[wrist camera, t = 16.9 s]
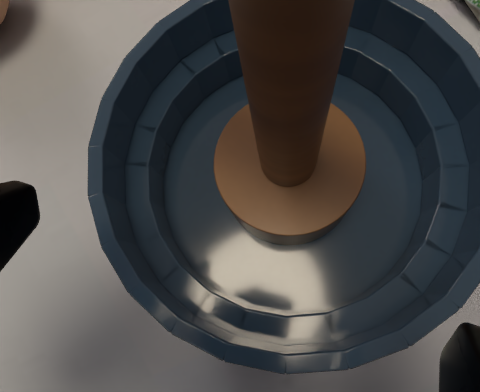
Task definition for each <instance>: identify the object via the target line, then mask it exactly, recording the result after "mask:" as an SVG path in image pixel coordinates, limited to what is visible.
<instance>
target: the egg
mask: <svg viewBox="0 0 480 392" xmlns="http://www.w3.org/2000/svg"><path fill="white" fill-rule="evenodd" d="M8 5H9V0H0V24H1V23H2V21H3V20H4V18H5V15H6V12H7V9H8Z"/></svg>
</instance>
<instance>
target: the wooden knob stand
mask: <svg viewBox="0 0 480 392" xmlns="http://www.w3.org/2000/svg"><path fill="white" fill-rule="evenodd" d="M228 1H229V7H230V12H231V17H232V22H233V27H234V32H235V37H236V42H237V47H238V52H239V57H240V62H241V68H242V73H243V78H244V83H245V88H246V93H247V98H248V103H249V104H247V105H246V106H244V107H243V108H242V109H241V110H239V111H238V112H237V113H236V114H235V115H234V116H233V117H232V118H231V119H230V121H229V122H228V123H227V124H226V126H225V128H224V129H223V131H222V133H221V135H220V137H219V139H218V142H217V145H216V149H215V154H214V175H215V181H216V184H217V188H218V190H219V192H220V195H221V197H222V198H223V200H224V202H225V203H226V205H227V206H228V208H229V209H230V211H231V212H232V214H233V215H234V217H235V218H236V219H237V221H238V222H239V223H240V224H241V225H242V226H243V227H244V228H245V229H246V230H247V231H249V232H250V233H251V234H253V235H254V236H256V237H258V238H260V239H262V240H265V241H267V242H270V243H275V244H280V245H298V244H304V243H307V242H311V241H313V240H316V239H318V238H320V237H322V236H323V235H325V234H327V233H328V232H329V231H331V230H332V229H333V228H334V227H335V226H336V225H337V224H338V223H339V222H340V221H341V219H342V218H343V217H344V215H345V214H346V213H347V211H348V210H349V209H350V207H351V206H352V205H353V203H354V202H355V200H356V199H357V197H358V195H359V193H360V191H361V188H362V185H363V182H364V178H365V173H366V154H365V149H364V144H363V141H362V139H361V136H360V134H359V132H358V130H357V128H356V127H355V125H354V124H353V122H352V121H351V120H350V119H349V117H348V116H347V115H346V114H345V113H344V112H343V111H341V110H340V109H339V108H338V107H336V106H335V105H333V104H332V103H331V99H332V95H333V91H334V87H335V82H336V78H337V74H338V69H339V65H340V61H341V57H342V52H343V48H344V44H345V40H346V35H347V31H348V27H349V23H350V18H351V14H352V10H353V6H354V1H355V0H228Z"/></svg>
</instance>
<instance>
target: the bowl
mask: <svg viewBox="0 0 480 392" xmlns="http://www.w3.org/2000/svg"><path fill="white" fill-rule="evenodd" d="M331 103H332V104H333V105H335V106H336V107H338V108H339V109H340V110H341V111H343V112H344V113H345V114H346V115H347V116H348V117H349V119H350V120H351V121H352V122H353V124H354V125H355V127H356V128H357V130H358V132H359V134H360V136H361V139H362V141H363V144H364V149H365V154H366V173H365V178H364V182H363V185H362V188H361V191H360V193H359V195H358V197H357V199H356V200H355V202H354V203H353V205H352V206H351V207H350V209H349V210H348V211H347V213H346V214H345V215H344V217H343V218H342V219H341V221H340V222H339V223H338V224H337V225H336V226H335V227H334V228H333V229H332V230H331V231H329V232H328V233H327V234H325V235H323V236H322V237H320V238H318V239H316V240H313V241H311V242H307V243H304V244H298V245H280V244H275V243H270V242H267V241H265V240H262V239H260V238H258V237H256V236H254V235H253V234H251V233H250V232H249V231H247V230H246V229H245V228H244V227H243V226H242V225H241V224H240V223H239V222H238V221H237V219H236V218H235V217H234V215H233V214H232V212H231V211H230V209H229V208H228V206H227V205H226V203H225V202H224V200H223V198H222V197H221V195H220V192H219V190H218V188H217V184H216V181H215V175H214V154H215V149H216V145H217V142H218V139H219V137H220V135H221V133H222V131H223V129H224V128H225V126H226V124H227V123H228V122H229V121H230V119H231V118H232V117H233V116H234V115H235V114H236V113H237V112H238V111H239V110H241V109H242V108H243V107H244V106H246V105H247V104H249V103H248V98H247V93H246V88H245V83H244V78H243V73H242V68H241V62H240V57H239V52H238V47H237V42H236V37H235V32H234V27H233V22H232V17H231V12H230V7H229V1H228V0H190V1H188V2H187V3H185V4H184V5H182V6H181V7H179V8H178V9H176V10H175V11H173V12H172V13H170V14H169V15H167V16H166V17H165V18H163V19H162V20H160V21H159V22H158V23H156V24H155V25H154V26H153V28H152V29H151V30H150V31H149V32H148V33H147V34H146V35H145V36H144V37H143V38H142V39H141V40H140V41H139V43H138V44H137V45H136V46H135V47H134V48H133V49H132V50H131V51H130V52H129V53H128V54H127V55H126V58H124V59H123V61H122V63H121V65H120V67H119V68H118V70H117V72H116V74H115V75H114V77H113V79H112V81H111V82H110V84H109V86H108V88H107V90H106V91H105V93H104V95H103V97H102V100H101V102H100V105H99V109H98V113H97V116H96V120H95V124H94V127H93V131H92V135H91V138H90V142H89V147H88V196H89V197H88V198H89V202H90V206H91V210H92V214H93V217H94V221H95V225H96V229H97V233H98V236H99V240H100V244H101V246H102V249H103V251H104V253H105V254H106V256H107V258H108V259H109V261H110V263H111V265H112V266H113V268H114V270H115V271H116V273H117V275H118V276H119V278H120V280H121V282H122V283H123V285H124V287H125V288H126V290H127V292H128V293H130V295H131V296H132V297H133V298H134V299H135V300H136V301H137V302H138V303H139V304H140V305H141V306H142V307H143V308H144V309H145V310H146V311H147V312H148V313H150V314H151V315H152V316H153V317H154V318H155V319H156V320H157V321H158V322H159V323H160V324H161V325H162V326H163V327H164V328H165V329H166V330H167V331H168V332H171V333H172V335H174V336H176V337H178V338H180V339H182V340H184V341H186V342H188V343H190V344H191V345H193V346H195V347H197V348H199V349H201V350H203V351H205V352H207V353H209V354H210V355H212V356H214V357H216V358H218V359H220V360H224V361H225V362H228V363H233V364H237V365H242V366H247V367H252V368H256V369H261V370H266V371H271V372H275V373H280V374H285V373H286V374H298V373H312V372H326V371H340V370H348V369H353V368H356V367H358V366H361V365H364V364H366V363H369V362H372V361H374V360H377V359H380V358H382V357H385V356H388V355H391V354H393V353H396V352H399V351H401V350H404V349H407V348H408V347H409V346H412V345H414V344H415V343H416V342H417V341H419V340H420V339H421V338H423V337H424V336H425V335H427V334H428V333H429V332H431V331H432V330H433V329H435V328H436V327H437V326H439V325H440V324H441V323H443V322H444V321H445V320H447V319H448V318H449V317H451V316H452V315H453V314H455V313H456V312H457V311H458V310H459V308H462V307H463V305H464V304H465V302H466V301H467V300H468V298H469V297H470V296H471V294H472V293H473V291H474V290H475V289H476V287H477V286H478V284H479V283H480V58H479V56H478V54H477V53H476V51H475V49H474V48H472V46H471V45H470V44H469V43H468V42H467V41H466V40H465V39H464V38H463V37H462V36H461V35H460V34H458V33H457V32H456V31H455V30H454V29H453V28H452V27H451V26H450V25H449V24H448V23H447V22H446V21H445V20H444V19H443V18H441V17H440V16H439V15H438V14H437V13H436V12H434V11H433V10H432V9H430V8H428V7H426V6H425V5H423V4H421V3H419V2H417V1H416V0H355V1H354V6H353V10H352V14H351V18H350V23H349V27H348V31H347V35H346V40H345V44H344V48H343V52H342V57H341V61H340V65H339V69H338V74H337V78H336V82H335V87H334V91H333V95H332V99H331Z"/></svg>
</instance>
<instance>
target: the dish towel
mask: <svg viewBox="0 0 480 392" xmlns="http://www.w3.org/2000/svg"><path fill="white" fill-rule="evenodd" d="M465 2H466V4H467V5H468V6H469V8H470V9H471V11H472V12H473V13H474V15H475V16H476V18H477V19H478V21H479V23H480V0H465Z"/></svg>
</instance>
